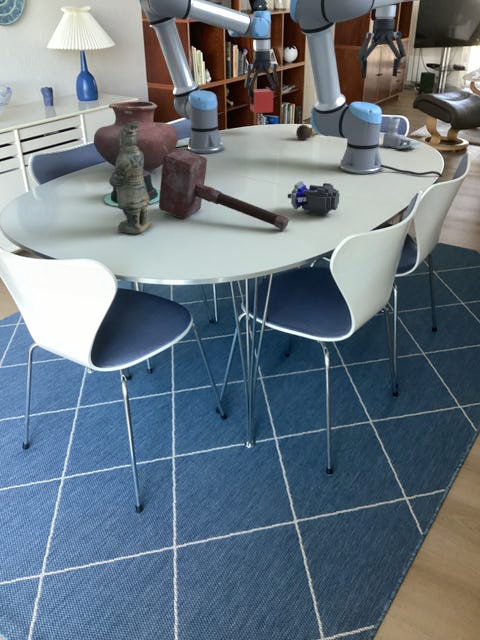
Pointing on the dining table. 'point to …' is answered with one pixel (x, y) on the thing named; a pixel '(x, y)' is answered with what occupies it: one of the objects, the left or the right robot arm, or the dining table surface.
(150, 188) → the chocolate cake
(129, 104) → the clay pot
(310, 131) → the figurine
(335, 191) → the toy
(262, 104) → the block
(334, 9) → the right robot arm
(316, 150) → the dining table surface
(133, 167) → the statue
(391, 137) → the grey boot
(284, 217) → the sledgehammer
